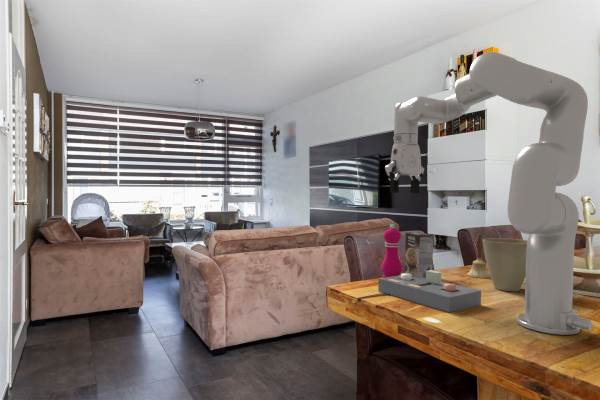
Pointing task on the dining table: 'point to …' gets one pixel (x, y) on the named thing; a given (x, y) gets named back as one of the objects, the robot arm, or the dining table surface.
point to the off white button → (406, 277)
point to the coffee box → (418, 253)
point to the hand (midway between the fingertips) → (404, 192)
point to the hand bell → (479, 262)
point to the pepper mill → (391, 253)
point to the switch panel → (430, 293)
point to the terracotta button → (449, 287)
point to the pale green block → (433, 277)
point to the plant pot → (506, 262)
